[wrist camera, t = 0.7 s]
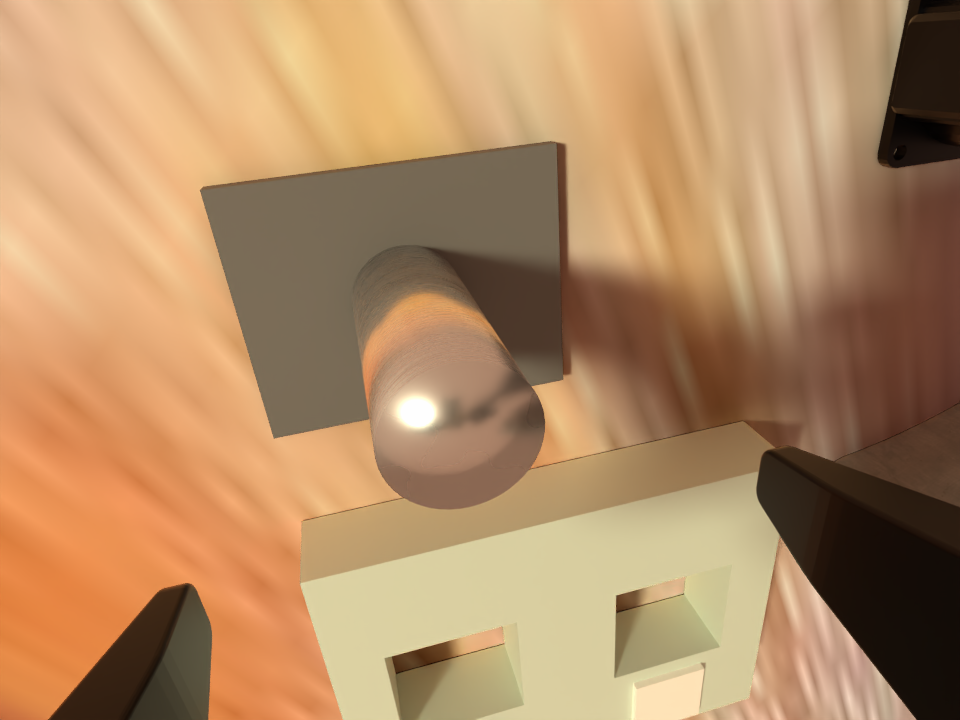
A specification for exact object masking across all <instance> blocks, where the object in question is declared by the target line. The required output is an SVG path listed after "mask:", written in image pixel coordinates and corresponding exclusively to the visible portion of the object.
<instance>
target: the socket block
mask: <svg viewBox="0 0 960 720" xmlns="http://www.w3.org/2000/svg"><path fill="white" fill-rule="evenodd" d="M773 448H775V447H774V446H773V445H771V444H770V443H769V442H768V441H767V440H765V439H764V438H763V437H762V436H761V435H760V434H758V433H757V432H756V431H755V430H754V429H752V428H751V427H750V426H749V425H748V424H747V423H745V422H744V421H741V422H737V423H732V424H728V425H723V426H719V427H715V428H710V429H706V430H701V431H697V432H693V433H688V434H684V435H679V436H675V437H671V438H666V439H662V440H657V441H653V442H649V443H644V444H640V445H635V446H631V447H627V448H622V449H618V450H613V451H609V452H605V453H600V454H596V455H591V456H587V457H583V458H578V459H574V460H569V461H565V462H561V463H556V464H552V465H547V466H543V467H539V468H534V469H530V470H528V471H527V473H526V474H525V475H524V476H523V477H522V478H521V479H520V480H519V481H518V482H517V483H516V484H515V485H514V486H512V487H511V488H510V489H509V490H507V491H506V492H504V493H502V494H501V495H499V496H497V497H495V498H493V499H492V500H489V501H487V502H484V503H482V504H479V505H475V506H472V507H467V508H462V509H450V510H447V509H434V508H428V507H424V506H421V505H418V504H415V503H413V502H410V501H409V500H407V499H405V498H402V499H398V500H393V501H389V502H385V503H380V504H376V505H371V506H367V507H363V508H358V509H354V510H349V511H345V512H341V513H336V514H332V515H327V516H323V517H319V518H314V519H310V520H305V521H302V528H301V562H300V585H301V589H302V592H303V595H304V598H305V601H306V604H307V608H308V611H309V614H310V617H311V620H312V623H313V626H314V630H315V633H316V636H317V639H318V642H319V645H320V649H321V652H322V655H323V658H324V661H325V664H326V668H327V671H328V674H329V677H330V680H331V683H332V687H333V690H334V693H335V696H336V699H337V702H338V705H339V709H340V712H341V715H342V718H343V720H681V719H685V718H688V717H691V716H694V715H697V714H700V713H704V712H707V711H710V710H713V709H716V708H720V707H723V706H726V705H729V704H732V703H735V702H739V701H742V700H745V699H748V698H749V696H750V690H751V685H752V680H753V674H754V669H755V664H756V658H757V653H758V648H759V642H760V637H761V632H762V626H763V621H764V616H765V610H766V605H767V600H768V594H769V589H770V584H771V578H772V573H773V568H774V562H775V557H776V552H777V546H778V541H779V536H780V535H779V533H778V532H777V530H776V529H775V527H774V525H773V524H772V522H771V521H770V519H769V518H768V516H767V514H766V513H765V511H764V510H763V508H762V507H761V505H760V503H759V501H758V498H757V494H756V485H757V479H758V473H759V467H760V461H761V456H762V454H763V453H764V452H765V451H766V450H769V449H773ZM683 577H686V580H685V590H684V594H683V595H680V596H676V597H673V598H669V599H665V600H662V601H658V602H655V603H651V604H647V605H644V606H640V607H636V608H633V609H629V610H626V611H622V612H618V613H616V595H620V594H624V593H627V592H631V591H635V590H638V589H642V588H646V587H649V586H653V585H657V584H660V583H664V582H668V581H671V580H675V579H679V578H683ZM502 626H503V634H504V644H503V645H499V646H495V647H492V648H488V649H485V650H481V651H477V652H474V653H470V654H467V655H463V656H459V657H456V658H452V659H448V660H445V661H441V662H438V663H434V664H430V665H427V666H423V667H420V668H416V669H412V670H409V671H405V672H401V673H398V674H396V673H395V668H394V664H393V660H392V656H395V655H399V654H402V653H406V652H410V651H413V650H417V649H421V648H424V647H428V646H432V645H436V644H439V643H443V642H447V641H450V640H454V639H458V638H461V637H465V636H469V635H472V634H476V633H480V632H483V631H487V630H491V629H495V628H498V627H502Z"/></svg>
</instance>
